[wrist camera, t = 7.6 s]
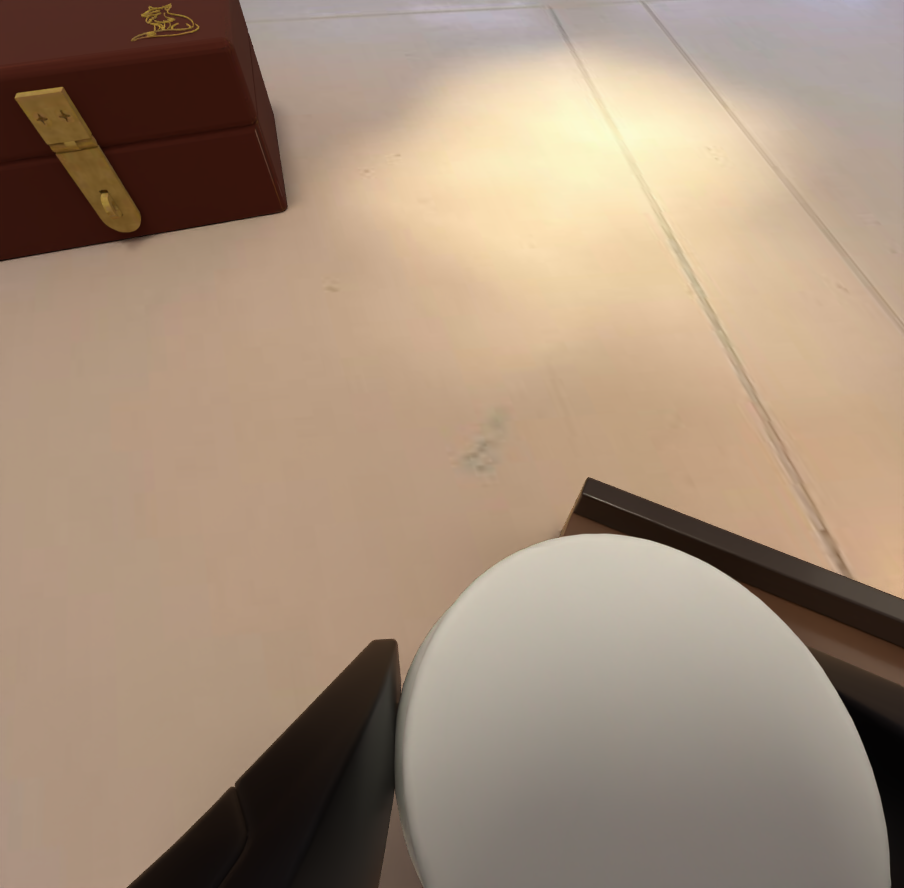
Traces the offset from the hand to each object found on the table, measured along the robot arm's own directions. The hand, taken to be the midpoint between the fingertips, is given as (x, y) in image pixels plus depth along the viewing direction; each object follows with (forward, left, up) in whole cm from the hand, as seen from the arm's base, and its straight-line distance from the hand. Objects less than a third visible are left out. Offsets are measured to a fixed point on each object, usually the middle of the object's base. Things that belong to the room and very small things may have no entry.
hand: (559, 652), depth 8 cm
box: (+20, +38, -11) cm, 45 cm away
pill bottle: (-1, -1, -7) cm, 7 cm away
